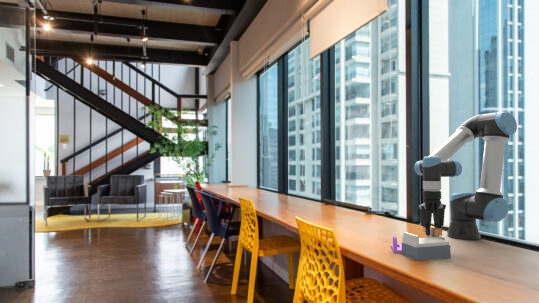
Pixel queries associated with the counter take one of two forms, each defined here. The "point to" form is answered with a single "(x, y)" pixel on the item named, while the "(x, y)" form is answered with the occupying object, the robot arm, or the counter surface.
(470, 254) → the counter surface
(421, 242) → the cover
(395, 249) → the bracket
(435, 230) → the key
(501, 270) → the counter surface
